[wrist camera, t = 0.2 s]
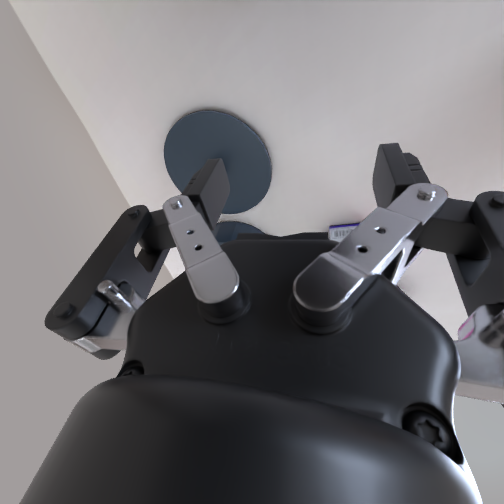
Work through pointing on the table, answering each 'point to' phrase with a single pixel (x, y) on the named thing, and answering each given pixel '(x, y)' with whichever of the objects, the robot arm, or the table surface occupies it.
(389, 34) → the table surface
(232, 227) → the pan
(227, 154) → the pan lid
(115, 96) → the table surface
